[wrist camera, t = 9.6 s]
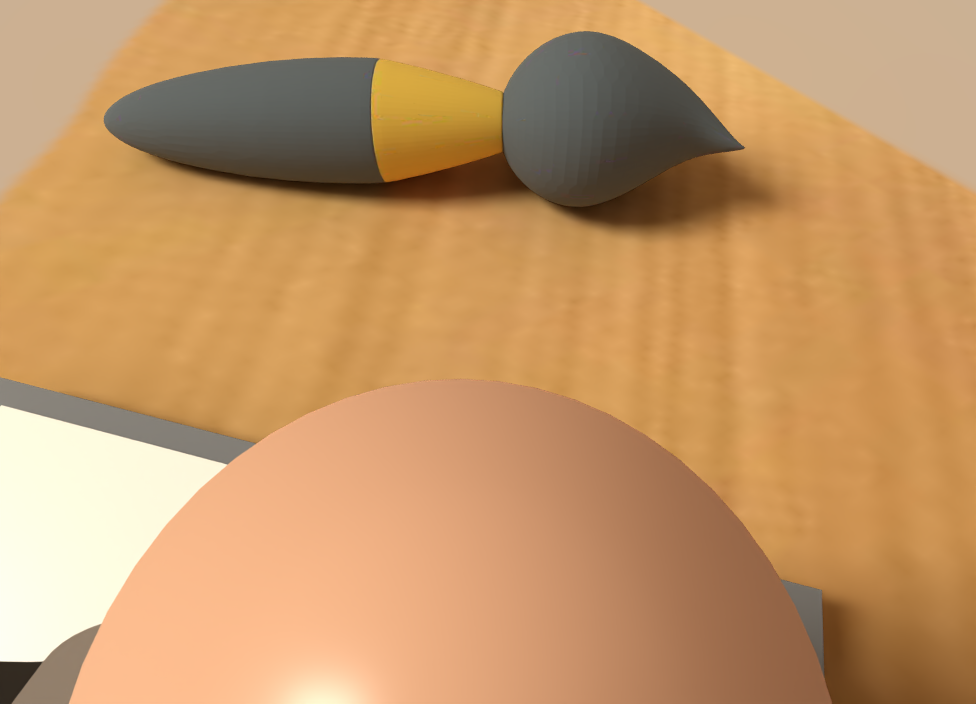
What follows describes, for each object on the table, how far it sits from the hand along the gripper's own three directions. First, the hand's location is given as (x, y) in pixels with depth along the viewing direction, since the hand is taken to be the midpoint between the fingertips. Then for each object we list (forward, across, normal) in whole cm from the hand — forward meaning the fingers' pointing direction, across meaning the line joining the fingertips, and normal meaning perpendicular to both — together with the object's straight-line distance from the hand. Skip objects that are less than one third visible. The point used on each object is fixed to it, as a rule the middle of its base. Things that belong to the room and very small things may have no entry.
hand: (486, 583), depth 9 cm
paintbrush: (+14, +5, -5) cm, 15 cm away
